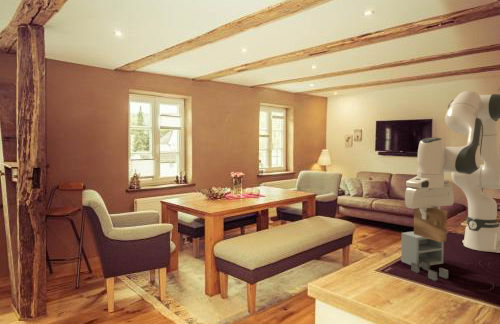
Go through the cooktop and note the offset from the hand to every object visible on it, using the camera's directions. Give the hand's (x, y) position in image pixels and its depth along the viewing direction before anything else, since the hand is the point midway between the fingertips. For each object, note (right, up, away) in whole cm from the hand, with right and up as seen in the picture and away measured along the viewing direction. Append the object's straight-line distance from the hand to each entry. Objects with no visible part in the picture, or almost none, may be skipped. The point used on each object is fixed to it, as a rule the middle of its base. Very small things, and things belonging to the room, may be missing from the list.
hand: (429, 218), depth 127 cm
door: (0, -7, 0) cm, 7 cm away
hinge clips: (0, -21, +1) cm, 21 cm away
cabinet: (+4, -20, +14) cm, 25 cm away
